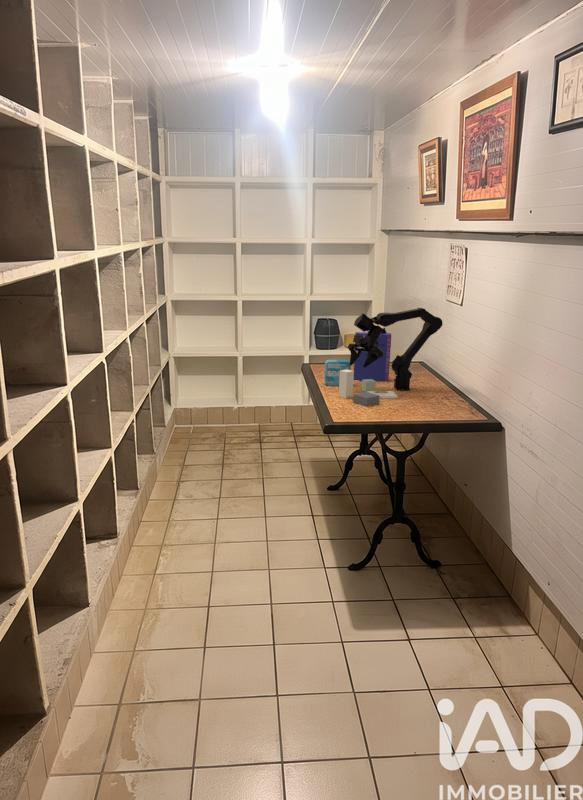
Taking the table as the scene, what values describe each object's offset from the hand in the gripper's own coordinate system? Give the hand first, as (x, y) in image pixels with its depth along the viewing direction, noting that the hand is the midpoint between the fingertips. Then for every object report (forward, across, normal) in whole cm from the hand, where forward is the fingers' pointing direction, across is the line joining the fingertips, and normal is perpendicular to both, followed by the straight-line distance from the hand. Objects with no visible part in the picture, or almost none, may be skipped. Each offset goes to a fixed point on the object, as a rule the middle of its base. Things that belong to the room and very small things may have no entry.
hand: (357, 366), depth 276 cm
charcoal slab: (+16, +14, +2) cm, 21 cm away
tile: (+7, +9, +14) cm, 18 cm away
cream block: (+15, +1, +1) cm, 15 cm away
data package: (+7, -18, +10) cm, 22 cm away
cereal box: (-5, -17, +27) cm, 33 cm away
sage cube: (+5, -1, +15) cm, 16 cm away
